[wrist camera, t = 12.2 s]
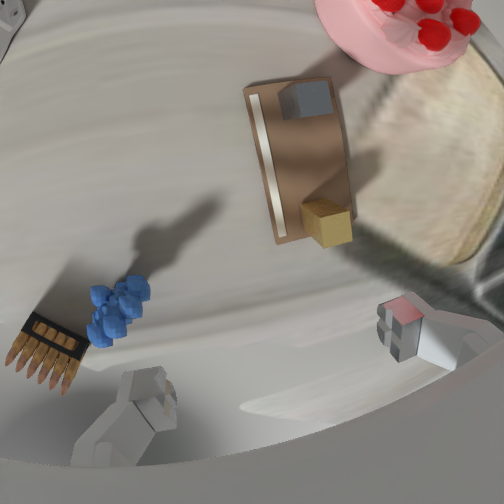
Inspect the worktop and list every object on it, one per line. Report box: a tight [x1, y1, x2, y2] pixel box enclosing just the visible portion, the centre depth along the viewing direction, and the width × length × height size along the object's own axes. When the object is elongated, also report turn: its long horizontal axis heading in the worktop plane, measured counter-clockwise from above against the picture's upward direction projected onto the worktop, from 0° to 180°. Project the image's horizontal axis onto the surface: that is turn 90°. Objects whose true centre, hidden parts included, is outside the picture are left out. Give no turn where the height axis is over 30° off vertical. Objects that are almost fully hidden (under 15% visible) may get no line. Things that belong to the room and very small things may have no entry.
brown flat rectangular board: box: [243, 77, 354, 245], centre depth 37 cm, size 20×11×1 cm, turn 12°
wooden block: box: [300, 198, 352, 248], centre depth 36 cm, size 4×4×7 cm
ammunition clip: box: [5, 312, 90, 396], centre depth 35 cm, size 11×2×12 cm, turn 59°
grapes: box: [87, 275, 150, 348], centre depth 34 cm, size 12×7×12 cm, turn 130°
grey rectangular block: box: [277, 81, 334, 120], centre depth 30 cm, size 4×4×7 cm
